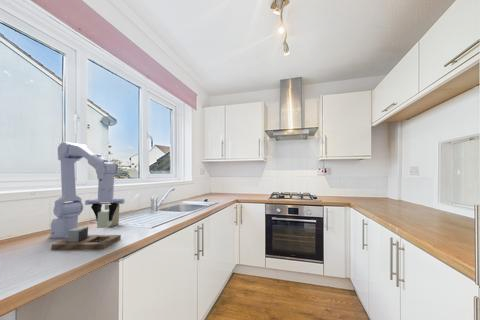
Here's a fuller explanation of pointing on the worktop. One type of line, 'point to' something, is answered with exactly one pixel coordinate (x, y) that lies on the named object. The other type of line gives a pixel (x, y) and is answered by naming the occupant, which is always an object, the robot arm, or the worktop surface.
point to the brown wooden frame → (88, 243)
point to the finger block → (103, 219)
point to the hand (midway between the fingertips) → (104, 220)
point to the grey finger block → (77, 234)
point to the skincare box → (116, 215)
